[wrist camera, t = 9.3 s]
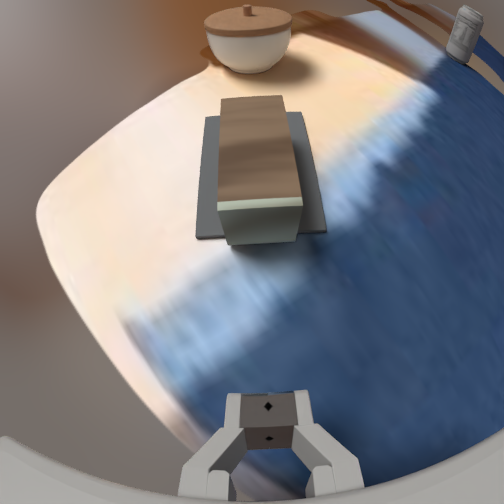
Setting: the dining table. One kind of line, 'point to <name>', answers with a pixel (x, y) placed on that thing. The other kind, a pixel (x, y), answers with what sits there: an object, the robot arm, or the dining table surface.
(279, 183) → the walnut block
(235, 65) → the lidded jar
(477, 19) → the energy drink can
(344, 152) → the dining table surface
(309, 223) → the felt mat
